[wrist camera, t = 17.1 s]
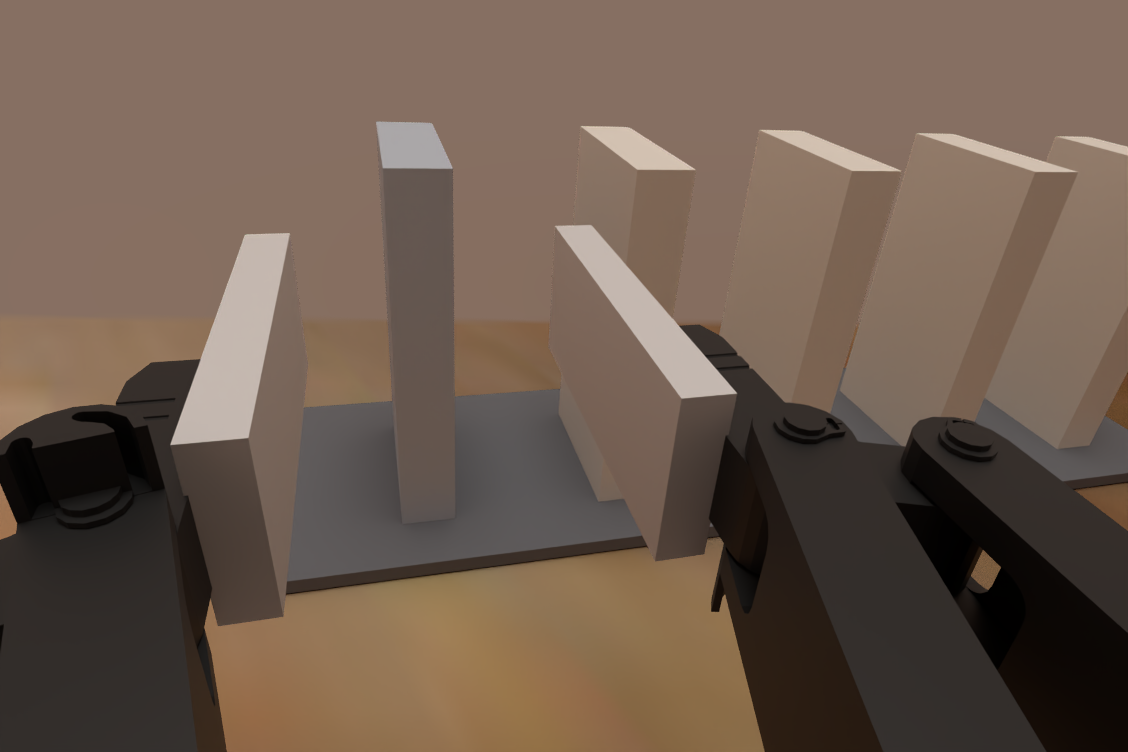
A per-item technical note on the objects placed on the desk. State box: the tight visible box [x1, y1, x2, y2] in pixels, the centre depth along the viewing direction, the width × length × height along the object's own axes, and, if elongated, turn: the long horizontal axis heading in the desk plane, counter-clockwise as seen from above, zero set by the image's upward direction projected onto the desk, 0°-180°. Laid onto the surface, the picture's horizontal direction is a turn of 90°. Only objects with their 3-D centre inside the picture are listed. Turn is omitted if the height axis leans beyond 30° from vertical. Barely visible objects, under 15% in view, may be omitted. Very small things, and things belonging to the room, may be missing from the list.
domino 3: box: [840, 133, 1078, 446], centre depth 30 cm, size 2×6×12 cm, turn 15°
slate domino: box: [376, 122, 455, 524], centre depth 24 cm, size 2×6×12 cm, turn 14°
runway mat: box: [286, 368, 1128, 594], centre depth 31 cm, size 38×10×1 cm, turn 104°
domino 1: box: [559, 126, 696, 502], centre depth 26 cm, size 2×6×12 cm, turn 14°
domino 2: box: [719, 130, 902, 413], centre depth 28 cm, size 2×6×12 cm, turn 14°
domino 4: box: [984, 136, 1128, 449], centre depth 31 cm, size 2×6×12 cm, turn 14°
